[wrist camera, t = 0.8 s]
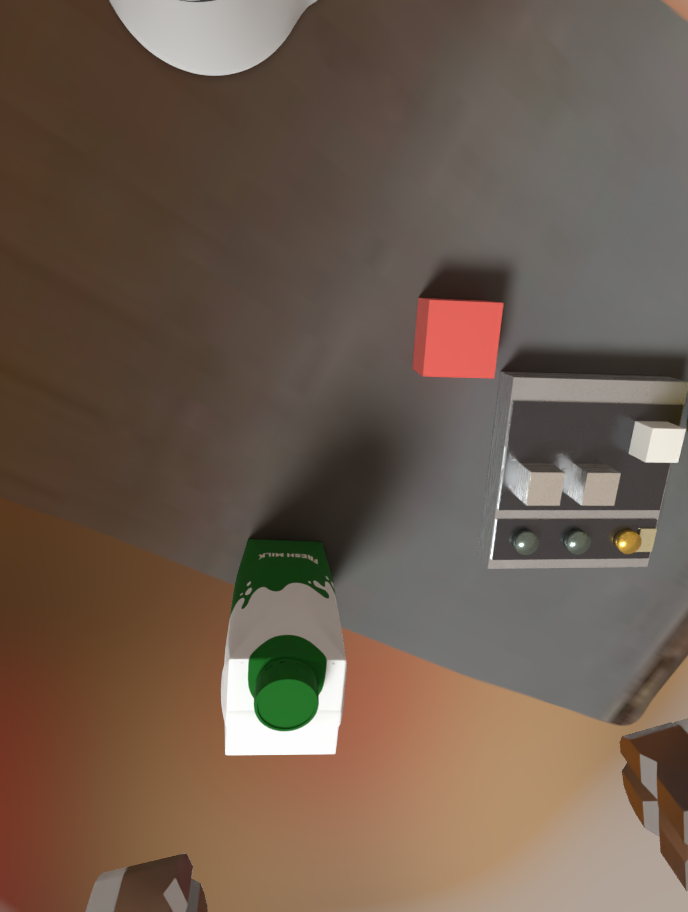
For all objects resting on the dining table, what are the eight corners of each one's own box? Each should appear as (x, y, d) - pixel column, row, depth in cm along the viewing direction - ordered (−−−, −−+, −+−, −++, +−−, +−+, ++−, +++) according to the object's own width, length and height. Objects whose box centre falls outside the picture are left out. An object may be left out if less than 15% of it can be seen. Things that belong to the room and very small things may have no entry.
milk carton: (332, 532, 54) (361, 674, 35) (324, 616, 57) (347, 789, 38) (238, 529, 53) (215, 673, 34) (234, 614, 55) (211, 791, 37)
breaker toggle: (635, 421, 50) (652, 428, 48) (666, 421, 50) (685, 428, 48) (628, 453, 51) (645, 462, 49) (659, 453, 51) (677, 462, 49)
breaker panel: (500, 371, 51) (526, 383, 45) (667, 376, 53) (711, 388, 47) (477, 553, 56) (498, 583, 51) (629, 552, 58) (665, 580, 53)
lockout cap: (418, 297, 48) (429, 299, 44) (487, 300, 49) (503, 303, 45) (412, 368, 50) (422, 376, 46) (478, 370, 51) (494, 378, 47)
